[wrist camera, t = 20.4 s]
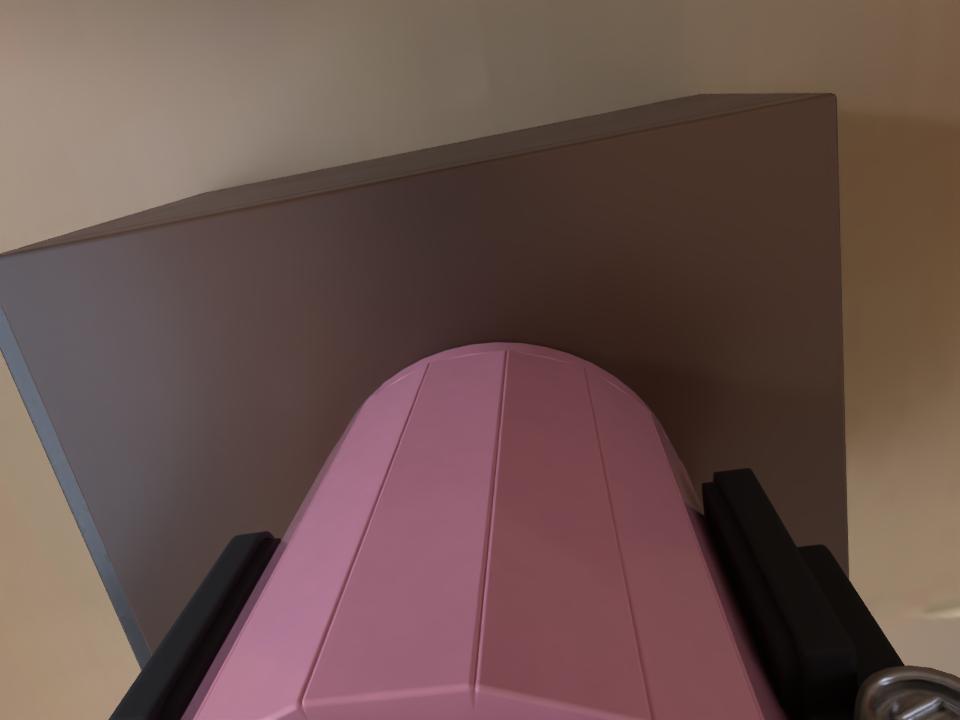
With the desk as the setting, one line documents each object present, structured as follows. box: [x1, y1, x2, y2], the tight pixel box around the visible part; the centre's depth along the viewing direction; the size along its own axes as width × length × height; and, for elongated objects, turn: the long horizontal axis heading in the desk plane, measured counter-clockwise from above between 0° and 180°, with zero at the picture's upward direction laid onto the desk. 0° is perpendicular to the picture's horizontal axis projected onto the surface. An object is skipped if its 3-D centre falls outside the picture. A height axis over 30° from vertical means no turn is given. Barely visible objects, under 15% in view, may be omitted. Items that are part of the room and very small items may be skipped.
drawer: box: [0, 305, 152, 670], centre depth 19 cm, size 15×12×7 cm
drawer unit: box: [0, 93, 849, 655], centre depth 18 cm, size 15×13×9 cm
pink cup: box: [181, 342, 789, 720], centre depth 10 cm, size 7×7×8 cm
